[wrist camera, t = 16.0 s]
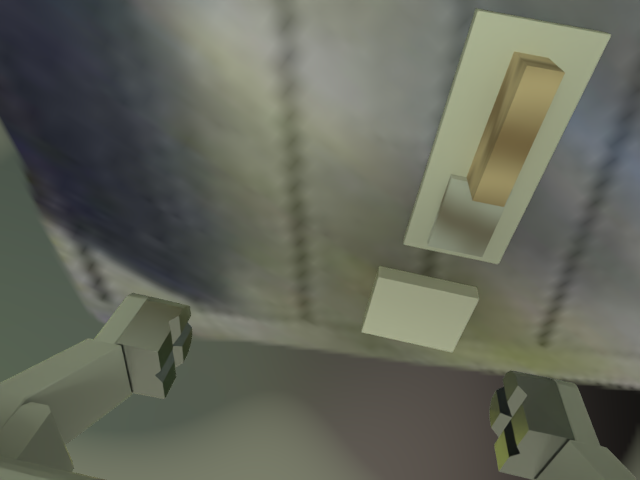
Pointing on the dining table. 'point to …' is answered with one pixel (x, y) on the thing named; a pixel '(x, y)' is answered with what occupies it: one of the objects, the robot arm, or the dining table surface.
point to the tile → (418, 309)
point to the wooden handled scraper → (496, 157)
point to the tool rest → (476, 105)
